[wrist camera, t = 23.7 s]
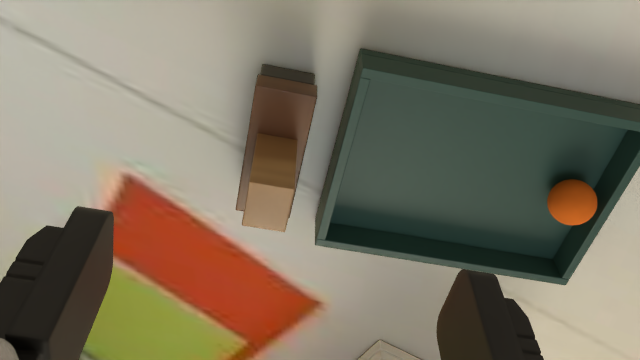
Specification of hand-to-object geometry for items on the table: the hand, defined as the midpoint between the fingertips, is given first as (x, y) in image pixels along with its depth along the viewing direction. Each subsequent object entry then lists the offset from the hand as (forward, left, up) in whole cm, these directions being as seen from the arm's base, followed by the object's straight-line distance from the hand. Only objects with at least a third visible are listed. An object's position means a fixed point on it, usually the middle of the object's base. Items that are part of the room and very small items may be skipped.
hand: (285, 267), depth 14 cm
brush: (+10, 0, -23) cm, 25 cm away
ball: (+10, +20, -21) cm, 30 cm away
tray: (+10, +13, -23) cm, 28 cm away
